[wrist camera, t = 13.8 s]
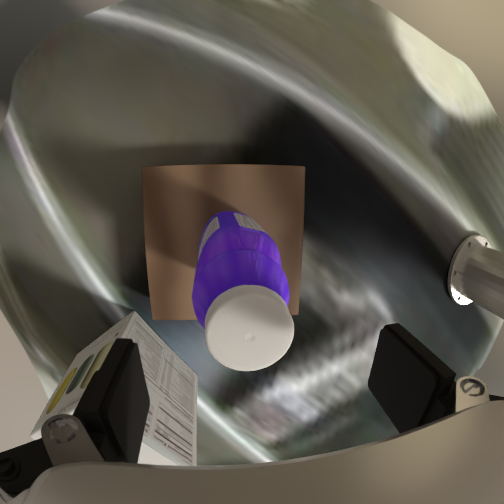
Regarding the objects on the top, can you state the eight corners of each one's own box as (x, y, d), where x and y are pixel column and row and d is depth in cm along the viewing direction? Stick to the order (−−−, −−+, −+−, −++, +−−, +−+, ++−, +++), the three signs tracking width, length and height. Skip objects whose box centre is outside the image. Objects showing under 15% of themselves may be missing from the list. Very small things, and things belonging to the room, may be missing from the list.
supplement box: (134, 307, 35) (90, 398, 18) (199, 375, 38) (200, 476, 22) (75, 353, 35) (26, 435, 18) (136, 410, 39) (118, 499, 22)
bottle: (246, 285, 31) (287, 399, 14) (193, 274, 30) (177, 386, 13) (264, 217, 29) (336, 270, 12) (208, 204, 28) (205, 241, 11)
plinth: (291, 167, 33) (305, 166, 28) (287, 297, 37) (298, 314, 32) (152, 168, 31) (142, 167, 26) (159, 301, 35) (152, 320, 30)
